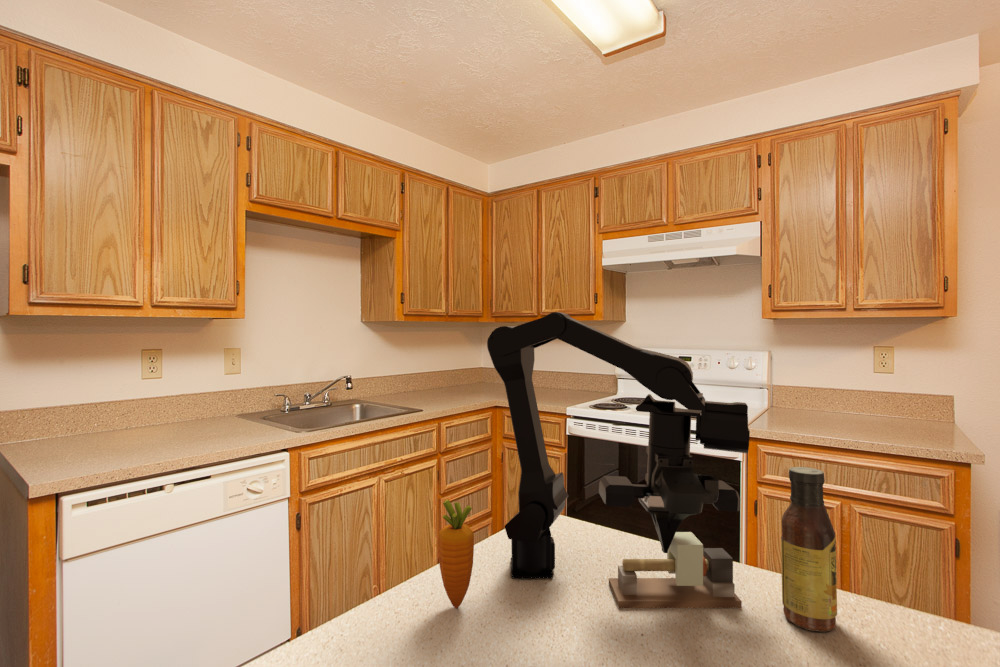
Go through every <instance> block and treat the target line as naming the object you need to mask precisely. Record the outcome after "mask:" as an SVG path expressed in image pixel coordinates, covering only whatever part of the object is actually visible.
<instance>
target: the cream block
mask: <svg viewBox="0 0 1000 667" xmlns="http://www.w3.org/2000/svg"><path fill="white" fill-rule="evenodd" d="M703 548H704V544H703V543H702V542H701V541H700V539H699V538H697V537H696V535H695V534H694V533H693V532H692V531H676V533H675V535H674V538H673V540H672V542H671V544H670V547H669V549H668V552H667V553H666V555H667V557H666V559H675V571H667V572H668V574H669V575H670V574H673V575H675V576H674V578H675V583H676V584H677V586H703Z"/></svg>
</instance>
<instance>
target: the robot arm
mask: <svg viewBox="0 0 1000 667" xmlns="http://www.w3.org/2000/svg"><path fill="white" fill-rule="evenodd" d="M555 340H559V341H562V342H564V343H565V344H567V345H570V346H571V347H574V348H576V349H578V350H581V351H583V352H585V353H587V354H589V355H591V356H593V357H595V358H597V359H600V360H601V361H604V362H605V363H608V364H610V365H612V366H614V367H617V368H618V369H621V370H622V371H624V372H625V373H626V374H629V376H631V377H632V378H633V379H634V380H636V382H638V383H639V384H641V385H642V386H644V387H645V388H646V389H647V390H649V391H650V392H652V393H653V394H655V395H656V396H657V397H659V398H661V399H664V400H660V399H659V400H657V399H655V398H654V397H653V396H652V394H650V393H648V394H647V395H646V397H644V400H643V401H641V402H640V403H638V404H637V405H636V407H635V410H636V411H637V412H642V413H643V412H644V413H649V419H648V445H646V450H645V451H646V454H647V466H646V468H647V470H646V473H645V476H644V478H645V479H644V481H645V482H646V484H640V483H639V484H638V483H632V482H631V480H630V479H629V478H628V477H627V476H617V475H603V476H602V477H601V478H600V480H599V482H598V483H599V484H598V494H599V496H600V498H601V499H602V502H603V503H604V504H605V506H609V507H615V508H616V507H620V508H629V507H631V506H632V505H633V504H634V503H635V501H636V499H638V502H639V504H641V506H642V507H643V508H644V509H645V511H646V512H647V513H649V515H650V516H651V518H652V521H653V524H654V528H655V531H656V533H657V534H656V535H657V538H658V539H659V540H658V541H659V543H660V546H661V551H662V552H663V553H664V554H667V552H668V549H669V547H670V544H671V542H672V540H673V538H674V535H675V533H676V532H678V529H679V527H680V525H681V524H682V523H683V521H684V520H685V519H686V518H687V517H689V516H695V515H699V514H701V513H702V512H703V507H704V504H710V505H711V504H712V506H713V507H714V508H715V509H716V510H718V511H719V512H736V513H737V512H740V509H741V496H740V495H739V494H740V493H739V492H738V491H737V490H736V489H735V488H733V487H732V486H730V484H728V483H726V482H725V481H723V480H720V479H718V478H717V475H716V474H705V473H702V474H700V473H699V474H698V473H696V472H695V469H694V460H693V459H694V458H693V455H691V431H692V430H691V429H692V428H691V427H692V417H696V418H695V441H698V442H699V444H701V445H703V449H704V450H705V449H707V450H714V451H725V452H731V453H739V454H741V453H742V454H749V450H750V449H749V448H750V434H751V433H750V428H749V416H748V415H749V414H748V409H749V406H748V404H747V403H746V402H740V401H739V402H738V401H737V402H736V401H735V402H723V401H712V400H711V401H708V400H706V398H705V397H704V394H703V392H701V391H700V390H699V388H698V387H697V386H696V385H695V383H694V382H693V381H694V372H693V370H692V367H691V366H690V364H689V363H688V362H687V361H686V360H684V359H683V358H680V357H677V356H673V355H669V354H665V353H661V352H659V351H654V350H648V349H645V348H640V347H637V346H634V345H632V344H630V343H628V342H625V341H624V340H622V339H619V338H617V337H615V336H612V335H610V334H609V333H606V332H604V331H601V330H600V329H597V328H595V327H593V326H591V325H588V324H586V323H585V322H582V321H579V320H577V319H575V318H572V316H570V315H569V314H568V313H566V312H565V313H564V312H559V311H554V312H550V313H548V314H547V315H545V316H542V317H540V318H537V319H534V320H531V321H528V322H525V323H523V324H522V323H521V324H520V325H513V326H512V325H507V326H505V325H503V326H499V327H497V328H494V330H492V332H491V333H490V335H489V337H488V338H487V342H486V347H487V351H488V353H489V357H490V360H491V363H492V364H493V368H494V369H495V371H496V373H497V374H498V376H499V378H501V381H502V382H503V384H504V387H505V392H506V394H505V395H506V399H507V403H508V404H507V405H508V408H509V415H510V419H511V425H512V430H513V436H514V439H515V440H514V441H515V445H516V450H517V455H518V461H519V465H520V479H519V485H518V512H517V513H516V514H515V515H514V516H513V517H512V518H511V519H510V520H508V522H507V523H506V524H504V530H505V533H506V536H507V539H508V540H511V557H510V578H512V579H519V580H520V579H523V580H524V579H525V580H526V579H553V578H554V573H553V570H555V569H556V553H555V552H556V544H555V540H554V539H555V538H554V537H553V536H552V532H551V528H550V527H551V526H552V525H553V524H554V522H555V521H556V520H557V519H558V517H559V516H560V515H561V514H562V512H563V510H564V509H565V507H566V500H567V499H568V498H569V494H568V492H567V489H566V486H565V477H564V473H563V472H560V473H555V472H554V469H553V468H552V467H551V465H550V462H549V459H548V453H547V449H546V448H547V447H546V445H545V444H546V442H545V438H544V434H543V427H542V422H541V418H540V414H539V408H538V402H537V397H536V393H535V388H534V383H533V372H534V365H535V349H537V348H539V347H541V346H544V345H547V344H549V343H551V342H553V341H555ZM675 401H676V402H677V403H678V404H680V405H681V406H683V407H685V408H681V407H676V402H675Z"/></svg>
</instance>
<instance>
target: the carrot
mask: <svg viewBox="0 0 1000 667" xmlns="http://www.w3.org/2000/svg"><path fill="white" fill-rule="evenodd" d="M453 504H454V507H455V509H454V507H453V505H452V502H451V501H450V500H449V499H446V500H444V501H443V506H444V509H445V510H446V512H447V513H448V515H447V514H443V515H442V519H444V520H445V521H446V522H447V523H448V524H446V525H445V526H444V527H443V528H442V529H441V530H439V531H438V537H437V538H438V539H437V542H438V543H437V544H438V546H437V547H438V564H439V569H440V570H439V571H440V575H441V580H442V585H443V587H444V590H445V593H446V596H447V597H448V599H449V601H450V603H451V605H452V607H454V609H458V608H460V606H461V605H462V603H463V601H464V599H465V596H466V595H467V591H468V590H469V586H470V582H471V577H472V573H473V572H472V571H473V566H474V553H475V552H474V551H475V550H474V548H475V536H474V535H475V534H474V531H473V530H472V529H471V528H470V527H469V526H468V525H467V524H465V521H466V519H467V517H468V515H469V513H470V512H471V511H472V508H473V507H472V506H471V505H466V506H465V507H464V509H463V510H462V506H461V503H460V502H454V503H453Z"/></svg>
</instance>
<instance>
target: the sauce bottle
mask: <svg viewBox="0 0 1000 667" xmlns="http://www.w3.org/2000/svg"><path fill="white" fill-rule="evenodd" d="M788 478H789V481H790V482H789V483H790V496H789V500H790V504H789V505H788V507H787V508H786V509H785V510H784V511H783V514H782V517H781V536H780V543H781V544H780V555H781V557H780V559H781V560H780V561H781V602H782V605H783V607H782V609H783V614H784V617H785V618H786V619H787V620H788V621H789V622H791V623H793V624H794V625H795V626H798V627H800V628H802V629H805V630H808V631H813V632H821V633H824V632H825V633H826V632H829V631H832V630H834V628H835V627H836V623H837V621H836V618H837V616H838V594H837V593H838V591H837V588H838V587H837V585H838V584H837V582H838V580H837V579H838V578H837V550H836V549H837V546H836V545H837V544H836V543H837V541H836V539H837V538H836V537H837V536H836V532H835V529H834V527H833V524H832V522H831V518H830V516H829V513H828V511H827V509H826V508H827V507H826V506H825V501H824V484H825V482H826V481H825V480H826V479H825V473H824V471H823V470H821V469H819V468H818V469H817V468H813V467H807V466H792V467H789V469H788Z"/></svg>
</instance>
